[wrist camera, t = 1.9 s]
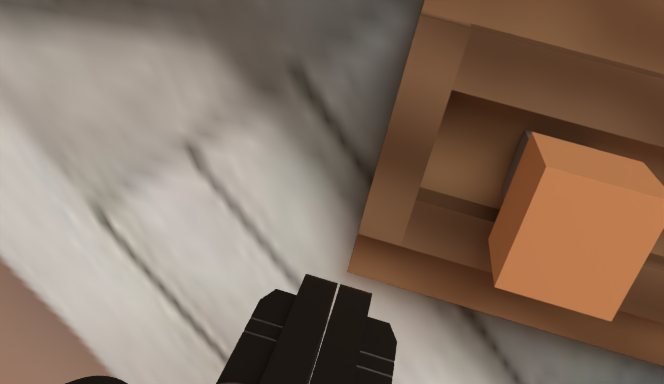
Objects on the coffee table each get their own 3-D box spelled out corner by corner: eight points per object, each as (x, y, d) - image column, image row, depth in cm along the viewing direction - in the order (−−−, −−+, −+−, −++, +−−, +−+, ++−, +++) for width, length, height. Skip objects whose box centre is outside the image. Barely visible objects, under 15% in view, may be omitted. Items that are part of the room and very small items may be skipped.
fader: (521, 106, 24) (546, 166, 17) (617, 132, 23) (677, 203, 17) (483, 202, 26) (494, 286, 19) (572, 227, 25) (611, 321, 19)
